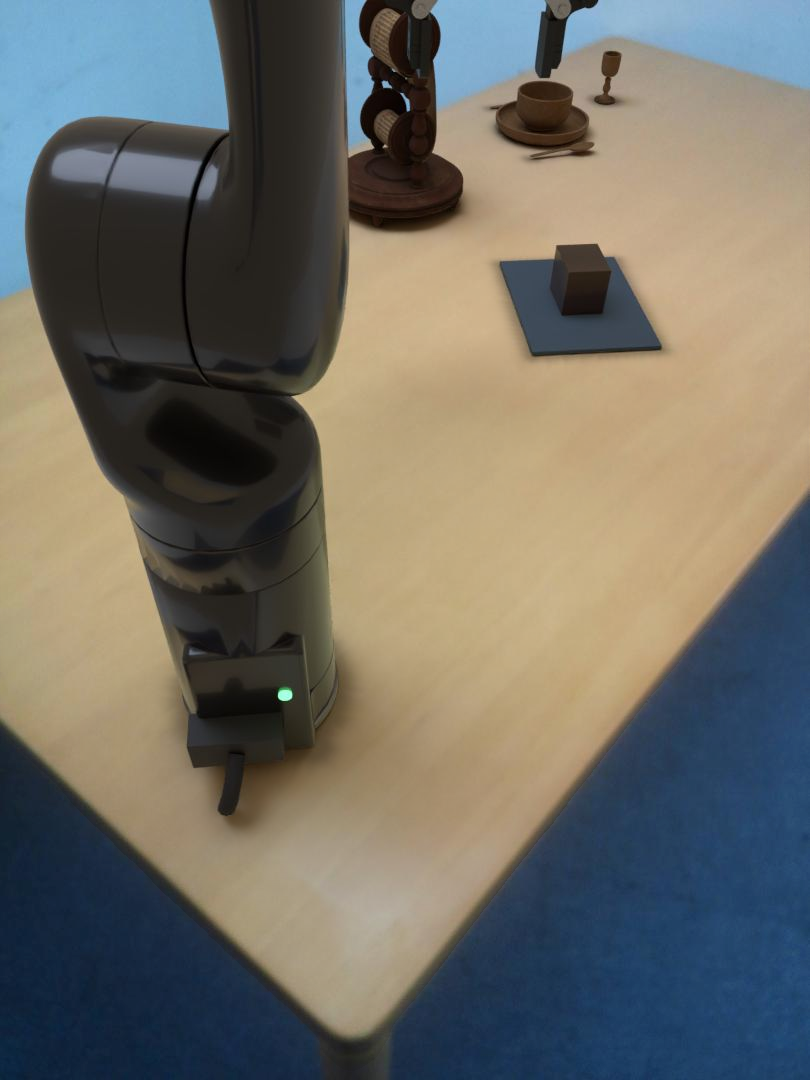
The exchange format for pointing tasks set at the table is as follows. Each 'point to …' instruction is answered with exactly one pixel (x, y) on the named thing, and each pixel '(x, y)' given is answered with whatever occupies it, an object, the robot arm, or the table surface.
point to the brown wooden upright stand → (399, 127)
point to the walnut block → (580, 279)
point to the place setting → (552, 111)
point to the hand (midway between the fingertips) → (483, 75)
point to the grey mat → (576, 333)
